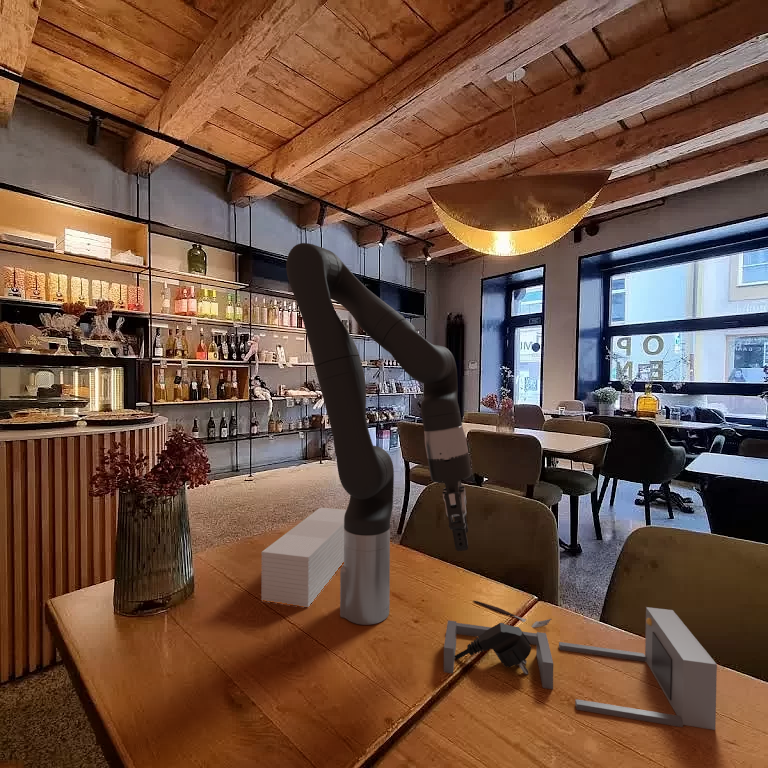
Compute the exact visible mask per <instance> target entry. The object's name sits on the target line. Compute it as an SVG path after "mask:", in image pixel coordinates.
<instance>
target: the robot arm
mask: <svg viewBox="0 0 768 768" xmlns="http://www.w3.org/2000/svg"><path fill="white" fill-rule="evenodd" d="M285 266H286V267H285V269H286V275H287V279H288V283H289V285H290V287H291V288H290V289H291V291H292V294H293V296H294V299H295V302H296V305H297V307H298V309H299V313H300V315H301V318H302V322H303V327H304V329H305V333H306V338H307V340H308V341H307V342H308V344H309V345H308V346H309V347H310V352H311V354H312V360H313V365H314V369H315V373H316V377H317V380H318V385H319V388H320V392H321V395H322V399H323V403H324V406H325V408H324V409H325V410H326V415H327V418H328V422H329V425H330V429H331V434H332V439H333V446H334V447H333V448H334V451H335V453H334V454H335V459H336V468H337V471H338V472H337V473H338V477H339V482H340V484H341V486H342V487H343V489H344V491H346V493H347V494H348V495H349V502H348V505H347V508H346V509H345V510H346V513H345V516H344V564H343V565H342V567H341V568H340V570H339V571H340V572H339V573H340V579H339V581H340V584H339V587H340V589H339V590H340V592H339V594H340V595H339V599H340V601H339V608H340V609H339V611H340V612H339V616H340V617H341V618H344V619H346V620H348V621H349V622H351V623H353V624H357V625H364V626H365V625H375V624H378V623H381V622H383V621H385V620H386V619H387V618H388V617H389V616H390V615H389V614H390V601H391V600H390V583H391V582H390V579H391V576H390V575H391V573H390V571H391V570H390V567H391V565H390V564H391V563H390V562H391V560H390V559H391V555H390V553H391V550H390V549H391V543H390V542H391V517H392V513H393V507H394V486H395V485H394V483H395V480H394V479H395V478H394V477H395V471H394V464H393V460H392V458H391V456H390V455H389V452H387V451H386V450H385V449H384V448H382V447H380V446H378V445H374V444H373V441H372V438H371V435H370V432H369V428H368V422H367V421H368V420H367V385H366V383H367V382H366V378H365V377H366V376H365V372H364V367H363V364H362V361H361V360H362V359H361V357H360V353H359V350H358V347H357V345H356V343H355V341H354V339H353V337H352V335H351V334H350V333H349V331H348V329H347V328H346V327H345V325H344V323H343V322H342V320H341V319H340V316H338V313H337V311H336V310H335V307H334V304H333V301H334V302H336V303H338V304H339V305H341V307H343V308H345V310H347V311H348V313H350V315H351V316H352V318H353V319H354V321H355V322H356V323H357V325H358V326H359V327H360V328H361V330H362V331H363V332H364V333H365V334H367V336H369V338H370V339H372V340H373V341H374V342H375V343H377V344H378V345H379V346H380V347H381V348H382V349H384V350H385V351H386V352H387V353H389V355H391V357H392V358H393V359H394V360H395V361H396V363H397V364H398V365H399V366H400V367H401V368H402V370H404V372H405V373H407V375H408V376H410V377H411V378H413V380H415V381H416V382H418V383H421V384H423V392H424V398H423V400H422V401H421V403H420V414H421V421H422V425H423V427H422V428H423V432H424V446H425V453H426V458H427V464H428V470H429V474H430V480H431V481H432V482H434V483H436V484H437V483H439V484H440V483H443V484H444V485H445V486H444V487H443V488H442V489H443V491H442V498H443V501H444V504H445V505H444V506H445V514H446V516H447V518H448V528H449V530H451V531H452V537H453V542H454V549H455V550H456V551H457V552H461V551H462V552H463V551H465V552H466V551H468V550H469V542H468V536H467V533H468V532H469V527H468V520H467V507H466V505H467V497H466V495H467V494H466V487H465V485H463V483H462V481H464V480H466V479H467V480H468V478H470V477H471V476H472V474H473V472H472V466H471V460H470V454H469V447H468V442H467V438H466V434H465V430H464V428H463V422H462V417H461V412H460V405H459V403H458V402H459V401H458V396H459V395H458V388H459V386H458V368H457V364H456V360H455V357H454V355H453V353H452V352H451V351H450V350H449V348H447V347H445V346H442V345H437V344H432V343H431V342H429V341H428V340H426V338H424V337H423V336H422V335H421V334H420V333H419V332H417V329H416V327H415V326H414V324H413V323H411V321H409V320H408V319H407V318H405V316H403V315H402V314H401V313H399V312H398V311H397V310H395V309H394V308H393V307H392V306H390V305H389V304H387V303H386V301H383V299H381V298H380V297H379V296H377V295H376V294H375V293H373V292H372V291H371V290H370V289H368V288H367V287H366V285H364V284H363V283H362V281H360V280H359V279H358V278H357V277H356V276H355V275H354V274H353V272H352V271H351V270H350V268H349V267H348V266H347V265H346V264H345V263H344V262H343V261H342V260H341V259H340V258H339V256H338V255H337V254H336V253H334V252H333V251H331V250H329V249H326V248H324V247H321V246H319V245H316V244H313V243H307V242H300V243H296V245H294V246H293V247H292V248H291V249H290V251H289V253H288V255H287V258H286V264H285ZM332 300H333V301H332Z"/></svg>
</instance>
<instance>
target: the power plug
mask: <svg viewBox="0 0 768 768" xmlns="http://www.w3.org/2000/svg"><path fill="white" fill-rule="evenodd" d="M523 632H524V631H522V629H521V628H520V627H519V626H514V625H509V624H505V623H504V622H499V623H498V624H496V625H494V626H492V628H490V629H488V630H486V631H485V632H484V633H483V634H481V635H480V636H479V637H476V638H475V639H473V641H471V642H470V643H469V644H467V645H466V646H467V647H466V649H464V650H463V651H461V652H458V653H457V654H455V660H456V661H457V659H458V660H460V659H461V658H463V657H465V656H466V655H468V654H469V655H470V656H474V655H476V654H479V653H483V652H487V651H489V650H492V651H493V652H494V653H495V655H496V657H497V658H498V659H499V661H500V663H502V665H503V667H505V668H512V667H514V666H515V667H517V666H519V668H520V669H521V670H522V672H523V674H524V675H528V674H529V669H528V668H527V667H526V665H527V658H528V657H529V655H530V653H531V652H532V646H531V645H532V644H530V642H529V641H528V639H527V638H526V636H525V635H524V634H523Z"/></svg>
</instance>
